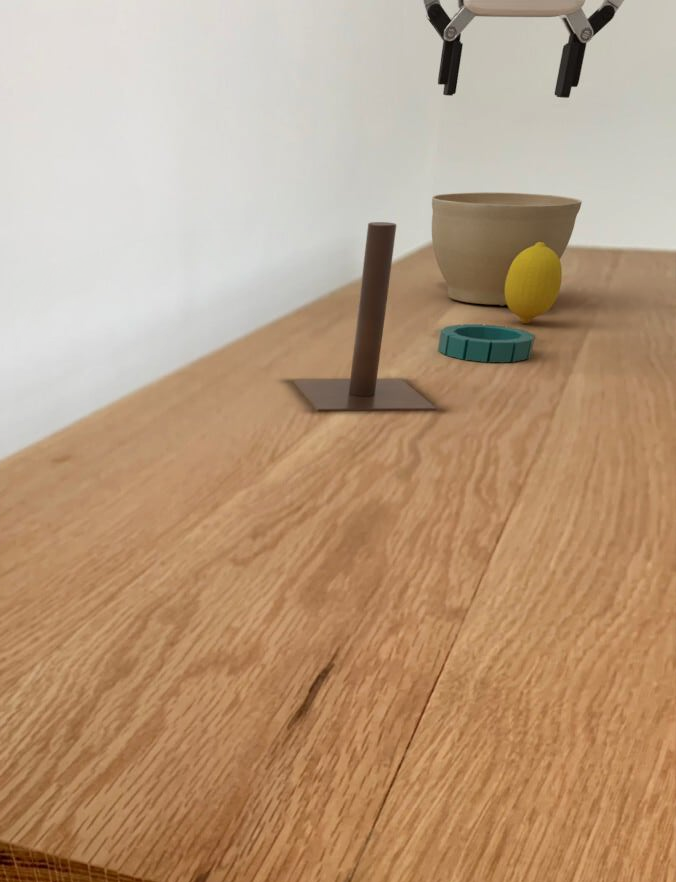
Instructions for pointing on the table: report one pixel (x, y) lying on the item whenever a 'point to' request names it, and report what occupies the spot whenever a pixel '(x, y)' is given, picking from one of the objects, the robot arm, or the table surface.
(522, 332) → the ring
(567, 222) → the planter bowl
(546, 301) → the lemon
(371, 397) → the peg stand
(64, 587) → the table surface
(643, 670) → the table surface
